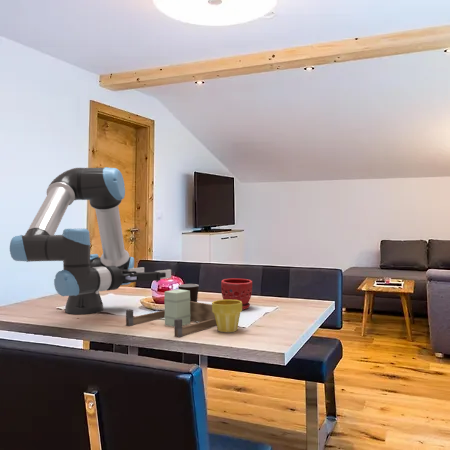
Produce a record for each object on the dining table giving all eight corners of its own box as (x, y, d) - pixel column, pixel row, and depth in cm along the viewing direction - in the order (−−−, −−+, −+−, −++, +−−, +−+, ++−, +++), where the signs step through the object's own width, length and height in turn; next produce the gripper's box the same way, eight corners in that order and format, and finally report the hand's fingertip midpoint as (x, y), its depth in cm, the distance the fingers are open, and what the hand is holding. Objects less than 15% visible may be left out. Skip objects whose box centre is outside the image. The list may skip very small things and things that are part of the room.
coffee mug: (196, 311, 188) (195, 287, 188) (175, 310, 190) (175, 286, 190) (203, 306, 199) (202, 283, 199) (183, 305, 201) (183, 282, 201)
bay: (126, 325, 165) (125, 306, 165) (168, 315, 181) (168, 297, 181) (178, 337, 148) (178, 315, 148) (219, 325, 164) (219, 305, 164)
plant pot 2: (211, 327, 162) (211, 299, 162) (240, 326, 163) (240, 298, 162) (213, 334, 151) (212, 305, 151) (244, 333, 152) (243, 304, 152)
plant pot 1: (216, 310, 190) (216, 281, 190) (228, 304, 202) (228, 277, 202) (246, 312, 185) (246, 283, 185) (256, 306, 197) (256, 278, 197)
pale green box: (164, 324, 166) (164, 291, 166) (178, 321, 171) (178, 289, 171) (176, 327, 162) (176, 293, 162) (190, 323, 167) (190, 290, 167)
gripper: (82, 287, 150) (133, 280, 166) (131, 294, 134) (182, 286, 150) (81, 264, 150) (133, 259, 166) (130, 268, 134) (182, 263, 150)
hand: (156, 272), depth 158 cm, fingers open, 13 cm apart
